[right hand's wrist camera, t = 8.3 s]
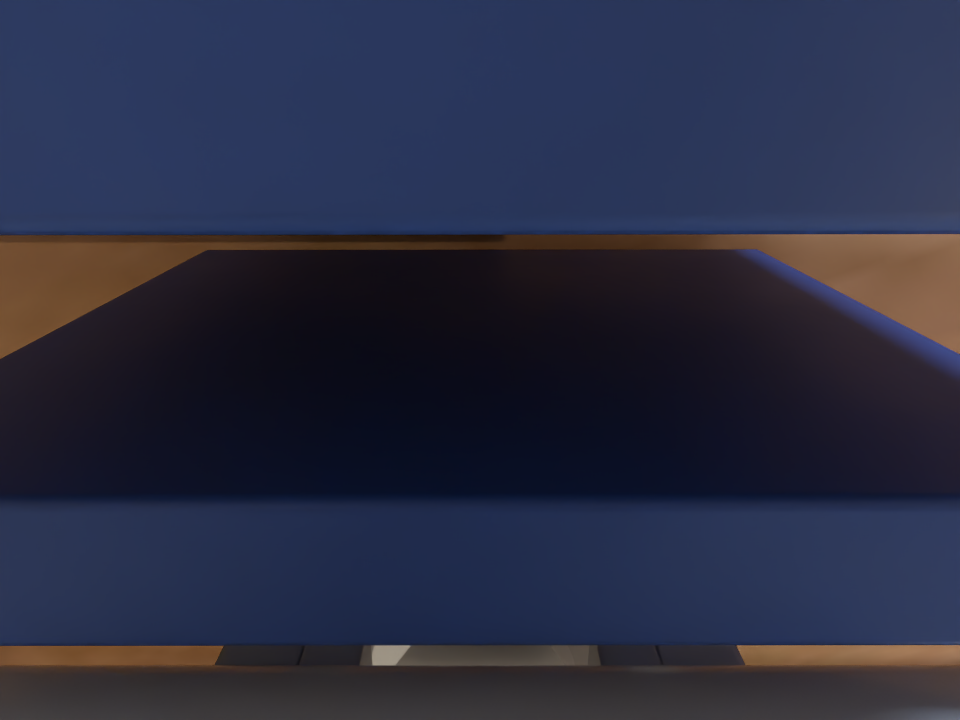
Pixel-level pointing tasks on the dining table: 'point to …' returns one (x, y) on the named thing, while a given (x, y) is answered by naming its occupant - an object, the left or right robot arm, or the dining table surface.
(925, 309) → the dining table surface
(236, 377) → the drawer
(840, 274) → the dining table surface
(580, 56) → the cabinet
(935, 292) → the dining table surface
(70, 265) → the dining table surface
